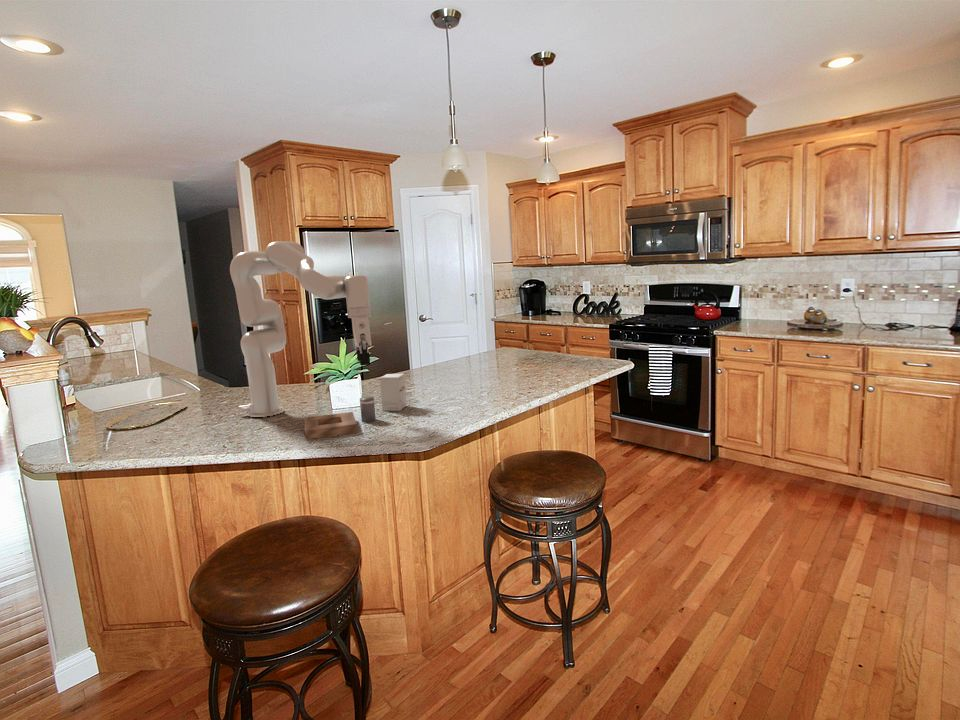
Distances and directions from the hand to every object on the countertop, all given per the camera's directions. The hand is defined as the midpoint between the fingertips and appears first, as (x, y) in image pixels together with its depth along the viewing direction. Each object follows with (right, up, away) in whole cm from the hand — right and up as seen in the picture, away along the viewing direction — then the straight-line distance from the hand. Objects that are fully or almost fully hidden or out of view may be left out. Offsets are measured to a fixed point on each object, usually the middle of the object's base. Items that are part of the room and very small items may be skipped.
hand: (363, 362), depth 182 cm
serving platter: (-87, -22, +23) cm, 93 cm away
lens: (+1, -20, +4) cm, 20 cm away
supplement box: (+8, -17, +18) cm, 26 cm away
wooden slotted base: (-10, -22, -5) cm, 25 cm away
